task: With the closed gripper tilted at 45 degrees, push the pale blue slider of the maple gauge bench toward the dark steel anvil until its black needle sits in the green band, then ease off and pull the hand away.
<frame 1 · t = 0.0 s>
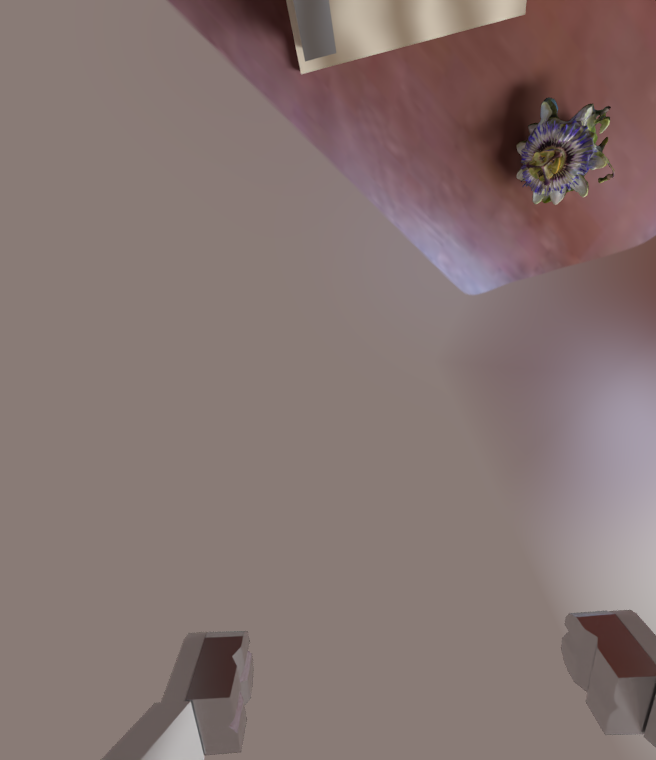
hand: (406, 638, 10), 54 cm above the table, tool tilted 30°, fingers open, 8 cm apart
passion flower: (552, 142, 51), on the table
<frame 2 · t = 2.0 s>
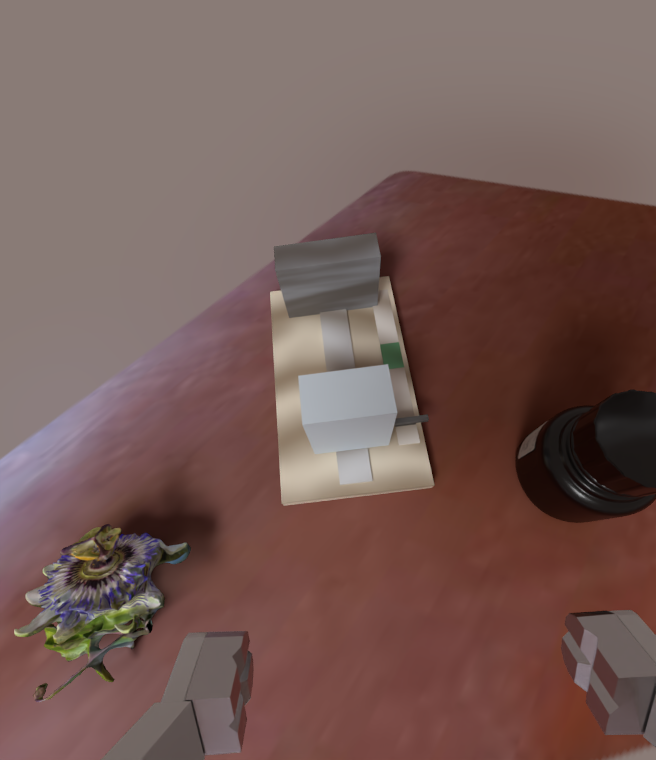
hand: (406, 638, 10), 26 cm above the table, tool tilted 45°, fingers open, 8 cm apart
gauge slider: (369, 402, 34), point 7 cm above the table, slide at 0.0 cm
ink bottle: (562, 473, 37), on the table
gauge bench: (342, 382, 42), on the table
passion flower: (134, 597, 35), on the table
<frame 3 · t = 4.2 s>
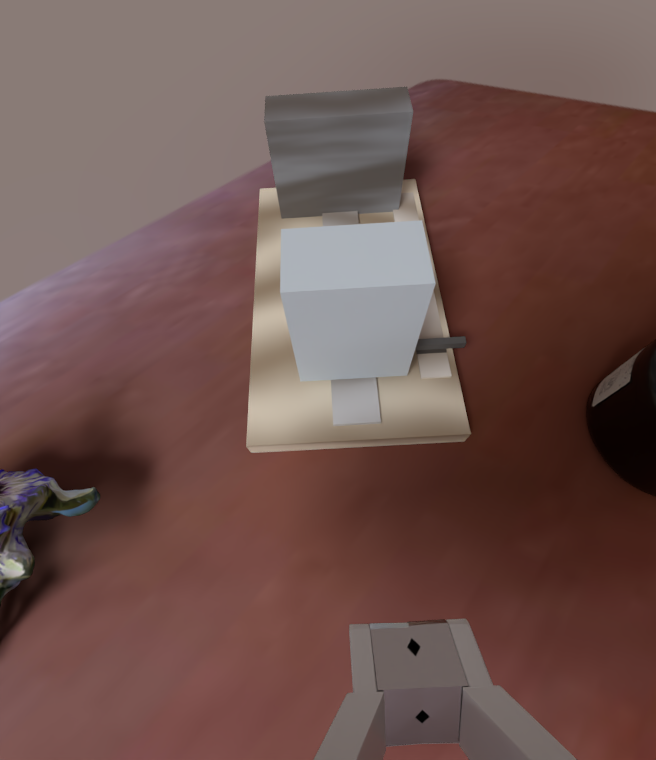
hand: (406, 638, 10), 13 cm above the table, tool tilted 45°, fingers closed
gauge slider: (385, 299, 23), point 7 cm above the table, slide at 0.0 cm
ink bottle: (652, 434, 26), on the table
gauge bench: (345, 301, 31), on the table
passion flower: (15, 568, 23), on the table
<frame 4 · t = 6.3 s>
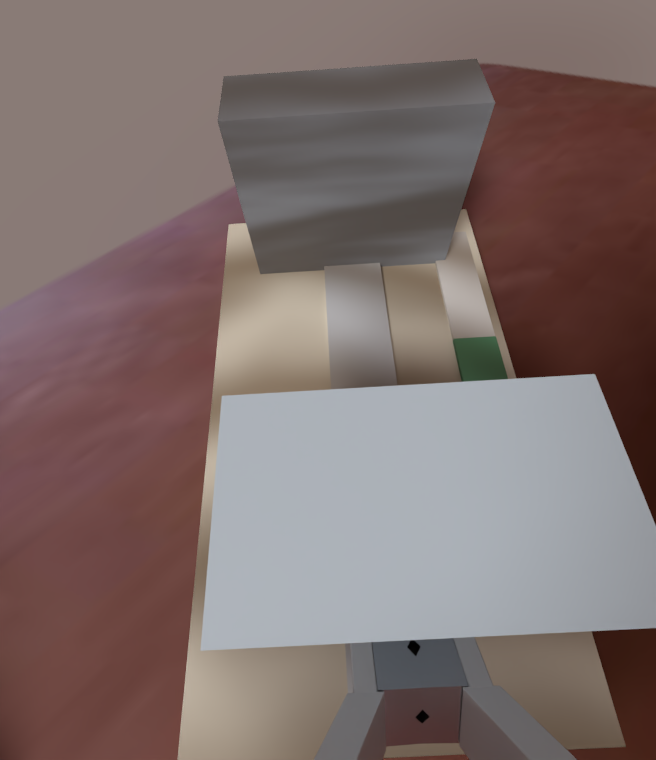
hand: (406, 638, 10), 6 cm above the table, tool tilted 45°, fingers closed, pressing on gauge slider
gauge slider: (462, 492, 11), point 7 cm above the table, slide at 0.3 cm, touching gripper
gauge bench: (363, 416, 19), on the table
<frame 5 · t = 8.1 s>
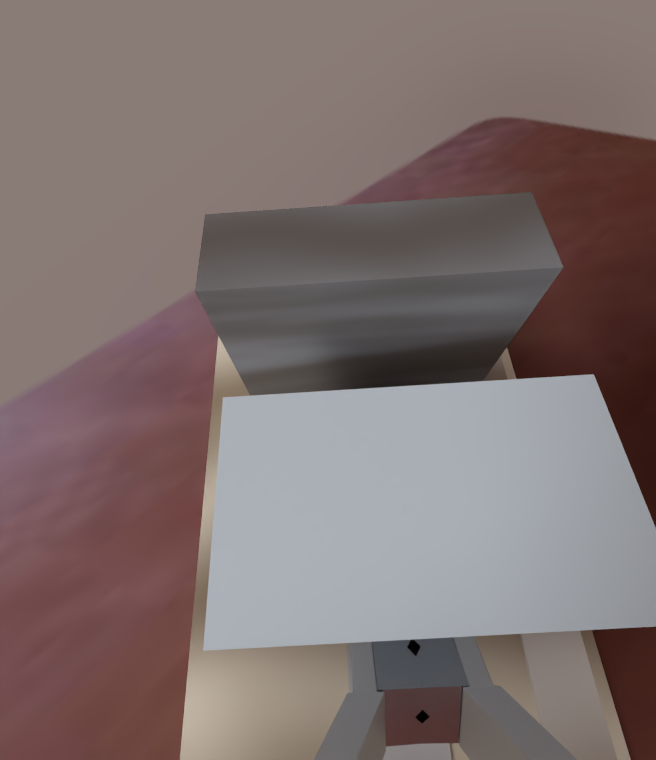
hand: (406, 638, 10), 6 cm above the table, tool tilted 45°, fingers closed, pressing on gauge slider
gauge slider: (462, 492, 11), point 7 cm above the table, slide at 8.0 cm, touching gripper
gauge bench: (381, 598, 15), on the table
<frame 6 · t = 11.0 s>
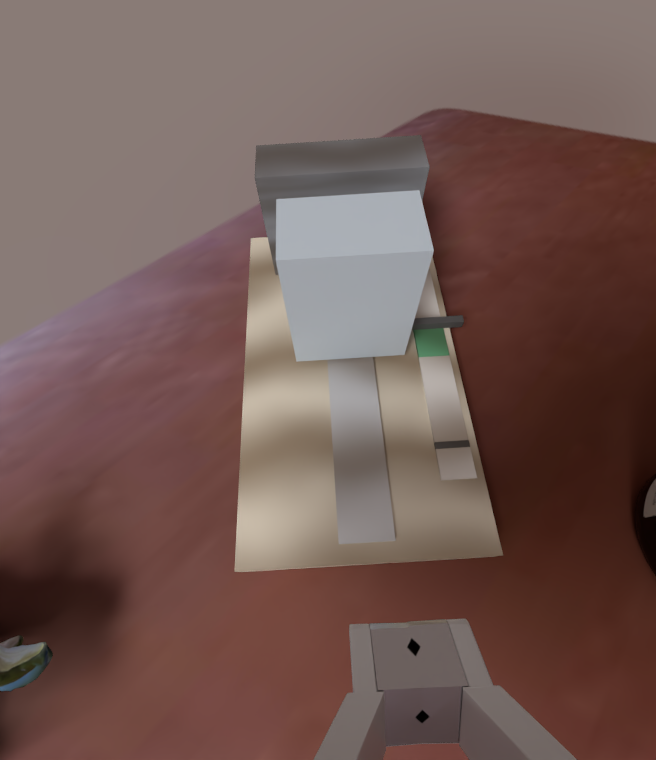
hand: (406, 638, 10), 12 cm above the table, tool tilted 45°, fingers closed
gauge slider: (382, 275, 22), point 7 cm above the table, slide at 8.0 cm
gauge bench: (349, 373, 27), on the table
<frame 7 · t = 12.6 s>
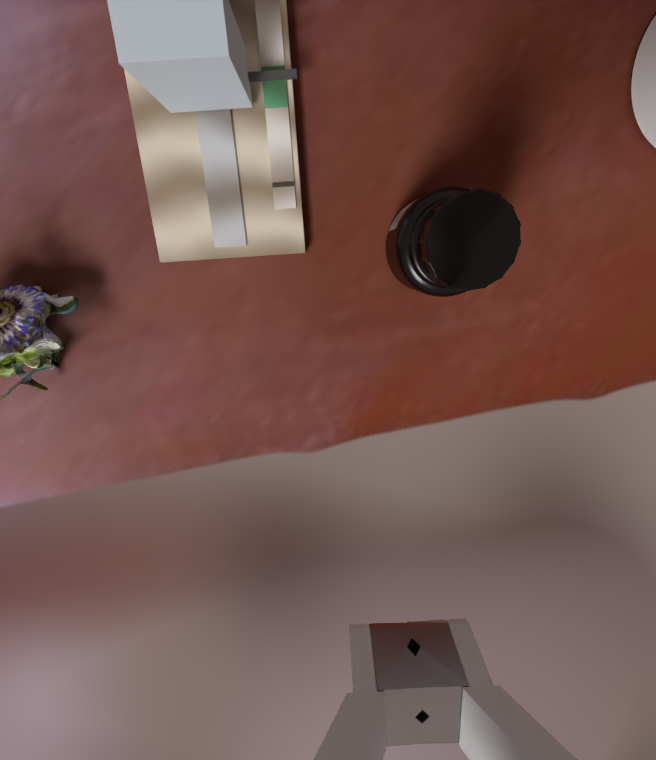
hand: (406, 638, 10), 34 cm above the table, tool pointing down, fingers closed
gauge slider: (216, 42, 28), point 7 cm above the table, slide at 8.0 cm
ink bottle: (428, 245, 39), on the table
gauge bench: (217, 118, 35), on the table
passion flower: (46, 332, 41), on the table
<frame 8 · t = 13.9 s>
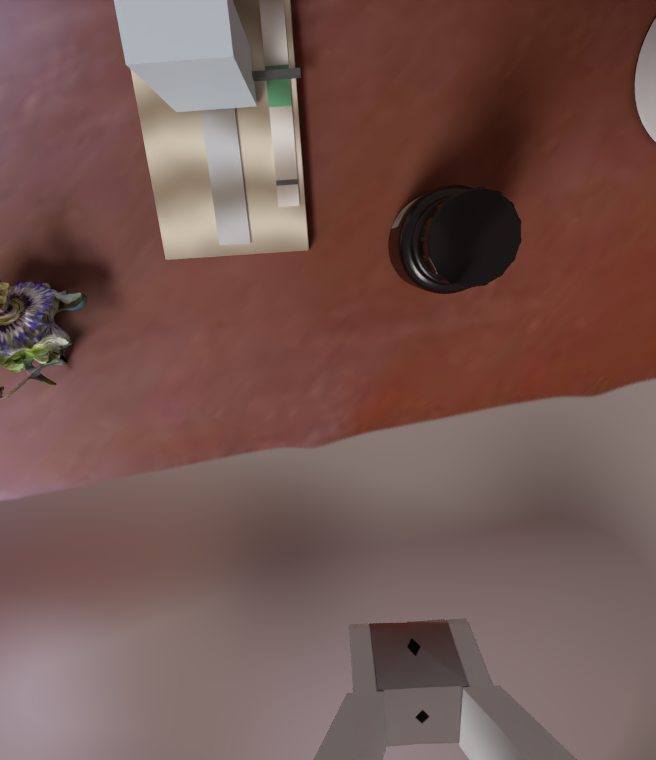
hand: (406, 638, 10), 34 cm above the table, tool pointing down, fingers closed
gauge slider: (221, 42, 29), point 7 cm above the table, slide at 8.0 cm
ink bottle: (430, 243, 40), on the table
gauge bench: (222, 117, 36), on the table
passion flower: (54, 328, 42), on the table
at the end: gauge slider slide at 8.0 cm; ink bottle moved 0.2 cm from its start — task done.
